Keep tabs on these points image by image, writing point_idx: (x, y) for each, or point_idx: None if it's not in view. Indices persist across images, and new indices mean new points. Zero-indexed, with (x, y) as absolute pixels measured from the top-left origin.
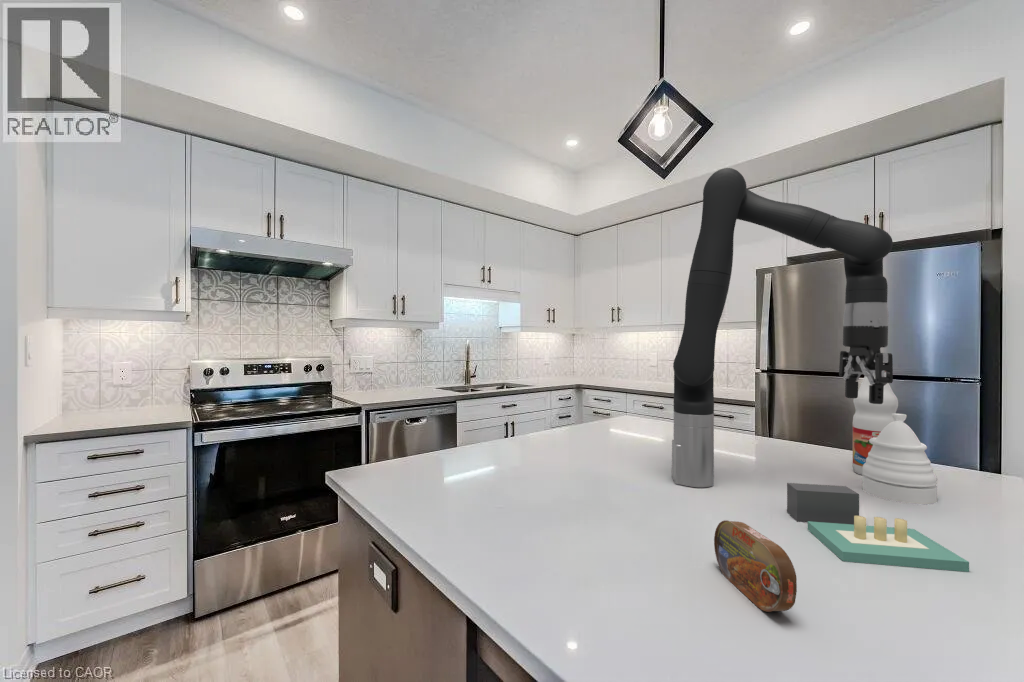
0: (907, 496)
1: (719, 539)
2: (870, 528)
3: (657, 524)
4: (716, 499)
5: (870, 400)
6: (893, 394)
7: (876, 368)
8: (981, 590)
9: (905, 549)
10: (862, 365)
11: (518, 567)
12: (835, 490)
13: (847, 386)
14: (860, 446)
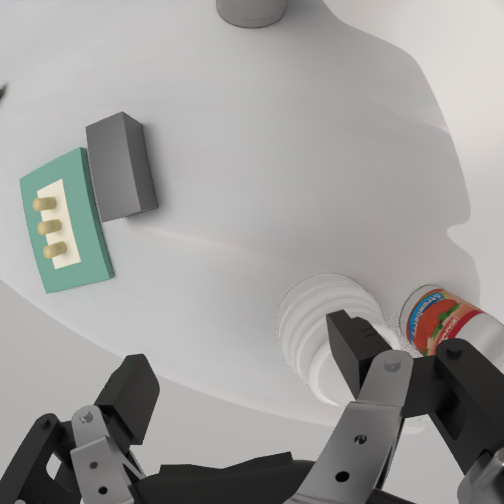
0: (277, 325)
1: None
2: (84, 223)
3: (67, 16)
4: (168, 35)
5: (126, 358)
6: None
7: (22, 465)
8: (26, 281)
9: (44, 243)
10: (94, 492)
11: (6, 4)
12: (105, 186)
13: (344, 343)
14: (443, 309)
